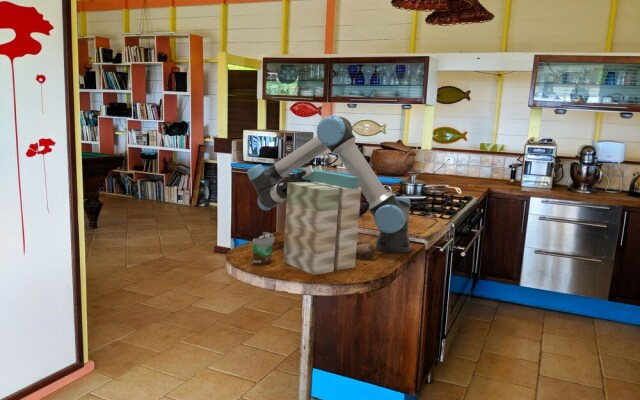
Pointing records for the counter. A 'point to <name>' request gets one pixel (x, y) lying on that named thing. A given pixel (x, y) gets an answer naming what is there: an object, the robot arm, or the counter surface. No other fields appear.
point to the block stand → (321, 227)
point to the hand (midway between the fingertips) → (316, 168)
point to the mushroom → (364, 251)
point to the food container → (262, 248)
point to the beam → (332, 178)
